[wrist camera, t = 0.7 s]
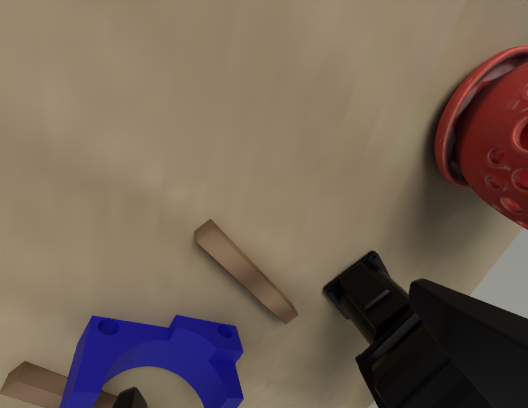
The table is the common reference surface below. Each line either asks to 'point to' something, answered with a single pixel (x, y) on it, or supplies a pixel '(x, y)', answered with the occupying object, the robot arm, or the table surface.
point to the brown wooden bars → (53, 385)
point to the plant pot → (490, 134)
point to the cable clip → (157, 358)
